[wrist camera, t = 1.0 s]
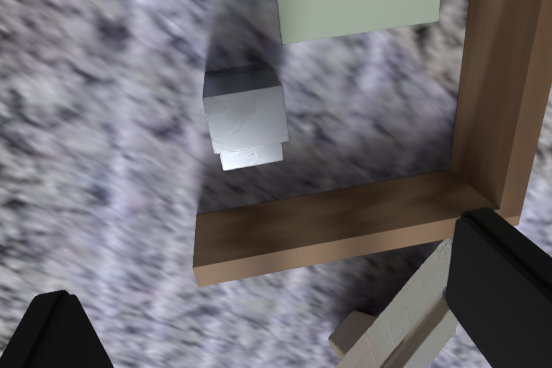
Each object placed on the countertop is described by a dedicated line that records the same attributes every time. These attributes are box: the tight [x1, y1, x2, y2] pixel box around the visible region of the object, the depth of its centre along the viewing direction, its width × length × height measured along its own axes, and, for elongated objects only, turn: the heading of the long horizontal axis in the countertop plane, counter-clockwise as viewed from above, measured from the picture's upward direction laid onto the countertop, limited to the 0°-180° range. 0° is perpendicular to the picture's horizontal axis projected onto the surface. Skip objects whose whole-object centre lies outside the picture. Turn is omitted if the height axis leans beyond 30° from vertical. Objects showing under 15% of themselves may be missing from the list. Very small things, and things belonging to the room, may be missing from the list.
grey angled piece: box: [328, 238, 458, 368], centre depth 34 cm, size 16×9×15 cm
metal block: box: [203, 62, 289, 170], centre depth 23 cm, size 4×6×6 cm, turn 7°
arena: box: [193, 0, 552, 287], centre depth 22 cm, size 22×23×6 cm
